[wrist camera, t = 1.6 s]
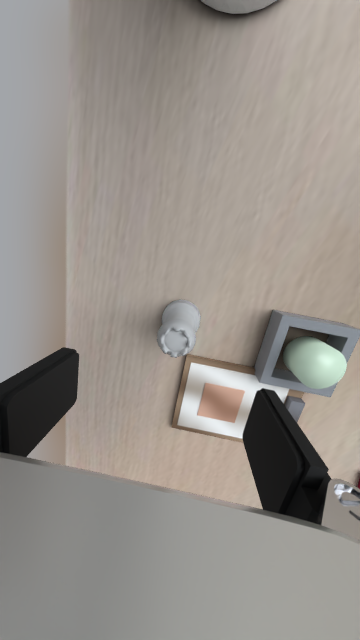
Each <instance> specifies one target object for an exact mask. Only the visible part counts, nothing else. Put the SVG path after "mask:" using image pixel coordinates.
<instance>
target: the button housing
mask: <svg viewBox="0 0 360 640" xmlns="http://www.w3.org/2000/svg"><path fill="white" fill-rule="evenodd" d="M289 326H292V327H297V328H302V329H307V330H312V331H317V332H322V333H327V334H329V336H328V339H327V341H326V344H327V345H329V346H331V347H333V348H334V349H336V350H338V351H339V352H341V353H342V354H343V356H344V357H345V359H346V364H347V362H348V360H349V358H350V356H351V354H352V352H353V349H354V347H355V345H356V343H357V341H358V339H359V337H360V329H357V328H355V327H352V326H349V325H347V324H344V323H339V322H334V321H329V320H324V319H319V318H313V317H308V316H303V315H298V314H293V313H288V312H283V311H278V310H273V311H272V315H271V318H270V321H269V324H268V327H267V330H266V333H265V336H264V339H263V342H262V345H261V348H260V351H259V354H258V357H257V360H256V363H255V366H254V368H255V373H254V374H255V376H256V377H257V379H258V381H259V383H263V384H268V385H273V386H278V387H283V388H288V389H293V390H297V391H302V392H307V393H312V394H317V395H322V396H327V397H331V395H332V393H333V391H334V389H335V387H336V385H337V383H338V382H337V383H336V384H334V385H332V386H330V387H327V388H323V389H314V388H310V387H307V386H305V385H304V384H303V383H302V382H301V381H300V380H299V379H298V378H297V377H296V376H295V375H294V374H293V373H292V372H291V371H287V370H282V369H277V368H275V365H276V362H277V359H278V356H279V354H280V351H281V348H282V345H283V343H284V340H285V337H286V334H287V332H288V329H289Z"/></svg>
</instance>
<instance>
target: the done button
mask: <svg viewBox="0 0 360 640" xmlns="http://www.w3.org/2000/svg"><path fill="white" fill-rule="evenodd" d="M283 361H284V363H285V365H286V366H287V367H288V369H289V370H290V371H291V372H292V373H293V374H294V375H295V376H296V377H297V378H298V379H299V380H300V381H301V382H302V383H303V384H304V385H305V386H307V387H310V388H314V389H323V388H327V387H330V386H332V385H334V384H336V383H337V382H338V381H339V380H340V379H341V378H342V377H343V375H344V374H345V371H346V366H347V364H346V359H345V357H344V356H343V354H342V353H341V352H339V351H338V350H336V349H334V348H333V347H331V346H329V345H327V344H326V343H324V342H322V341H320V340H319V339H317V338H315V337H312V336H302V337H298V338H296V339H294V340H292V341H291V342H290V343H289V344H288V345H287V346H286V348H285V350H284V353H283Z"/></svg>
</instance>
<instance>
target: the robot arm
mask: <svg viewBox="0 0 360 640" xmlns="http://www.w3.org/2000/svg"><path fill="white" fill-rule="evenodd" d="M201 1H202V2H203V3H204V4H206V5H208V6H210V7H212V8H214V9H216V10H218V11H222V12H226V13H231V14H238V13H249V12H253V11H256V10H259V9H263V8H264V7H266V6H268V5H270V4H272V3H273V2H275V1H277V0H201ZM78 367H79V354H78V353H77V352H76V350H74V349H69V348H61V349H60V350H58V351H56V352H54V353H53V354H51V355H49V356H47V357H45V358H44V359H42V360H40V361H39V362H37V363H35V364H33V365H31V366H30V367H28V368H26V369H24V370H23V371H21V372H19V373H17V374H16V375H14V376H12V377H10V378H9V379H7V380H5V381H4V382H2V383H0V640H360V489H359V488H357V487H356V486H354V485H352V484H350V483H349V482H346V481H344V480H341V479H331V478H330V476H329V475H328V473H327V472H328V470H329V469H328V468H327V466H326V465H325V463H324V462H323V460H322V459H321V458H320V456H319V455H318V453H317V452H316V450H315V449H314V447H313V446H312V444H311V443H310V442H309V440H308V439H307V437H306V436H305V434H304V433H303V431H302V430H301V428H300V427H299V426H298V424H297V423H296V421H295V420H294V418H293V417H292V415H291V414H290V412H289V411H288V409H287V408H286V407H285V405H284V404H283V402H282V401H281V399H280V398H279V396H278V395H277V393H276V392H275V391H274V390H269V389H265V388H262V389H261V390H258V391H257V392H256V395H255V398H254V401H253V404H252V407H251V410H250V413H249V416H248V419H247V422H246V425H245V428H244V431H243V443H244V446H245V449H246V453H247V456H248V460H249V463H250V467H251V470H252V473H253V477H254V480H255V484H256V487H257V490H258V494H259V497H260V501H261V504H262V507H263V510H262V509H258V508H254V507H250V506H246V505H241V504H237V503H233V502H228V501H224V500H219V499H215V498H210V497H206V496H202V495H197V494H193V493H188V492H184V491H179V490H175V489H170V488H166V487H161V486H157V485H152V484H148V483H143V482H139V481H134V480H130V479H125V478H120V477H116V476H111V475H107V474H102V473H97V472H93V471H88V470H83V469H79V468H74V467H69V466H65V465H60V464H55V463H51V462H46V461H41V460H36V459H31V458H27V455H28V454H29V453H30V452H31V451H32V450H33V449H34V448H35V447H36V446H37V444H38V443H39V442H40V441H41V440H42V439H43V438H44V437H45V436H46V434H47V433H48V432H49V431H50V430H51V429H52V428H53V427H54V426H55V425H56V423H57V422H58V421H59V420H60V419H61V418H62V417H63V416H64V415H65V414H66V413H67V411H68V410H69V409H70V408H71V407H72V406H73V405H74V403H75V401H76V399H77V385H78Z"/></svg>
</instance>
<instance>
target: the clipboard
mask: <svg viewBox="0 0 360 640" xmlns="http://www.w3.org/2000/svg"><path fill="white" fill-rule="evenodd" d="M254 373H255V368H254V367H249V366H244V365H239V364H234V363H229V362H224V361H219V360H214V359H209V358H204V357H199V356H194V355H189V354H187V356H186V360H185V365H184V370H183V374H182V379H181V384H180V388H179V393H178V398H177V403H176V407H175V412H174V417H173V421H172V428H177V429H181V430H186V431H191V432H196V433H200V434H205V435H210V436H215V437H219V438H224V439H229V440H234V441H238V442H243V431H244V428H245V425H246V422H247V419H248V416H249V413H250V410H251V407H252V404H253V401H254V398H255V395H256V392H257V391H258V390H261V389H262V388H265V389H269V390H274V391H275V392H276V393H277V395H278V396H279V398H280V399H281V401H282V402H283V404H284V405H285V407H286V408H287V409H288V411H289V412H290V414H291V415H292V417H293V418H294V420H295V421H296V423H297V421H298V419H299V417H300V415H301V412H302V410H303V408H304V405H305V403H304V401H303V400H302V399H301V398H302V396H303V394H304V392H302V391H297V390H293V389H288V388H283V387H278V386H273V385H268V384H263V383H259V381H258V379H257V377H256V376H255V374H254Z"/></svg>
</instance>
